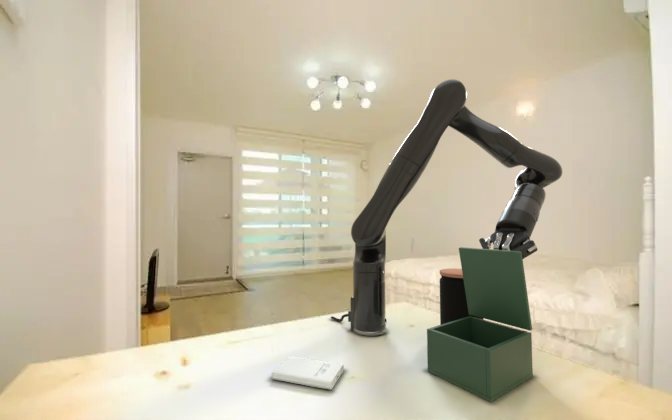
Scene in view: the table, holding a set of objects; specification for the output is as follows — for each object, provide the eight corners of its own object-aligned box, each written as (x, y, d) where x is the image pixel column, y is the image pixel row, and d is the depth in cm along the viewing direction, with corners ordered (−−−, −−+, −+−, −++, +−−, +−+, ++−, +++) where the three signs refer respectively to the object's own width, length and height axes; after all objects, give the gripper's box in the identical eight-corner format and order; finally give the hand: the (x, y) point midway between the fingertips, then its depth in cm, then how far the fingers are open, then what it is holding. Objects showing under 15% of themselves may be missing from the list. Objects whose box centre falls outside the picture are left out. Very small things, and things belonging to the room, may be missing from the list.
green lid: (519, 252, 61) (521, 251, 62) (458, 247, 72) (460, 247, 73) (530, 331, 63) (532, 329, 63) (468, 314, 74) (470, 313, 74)
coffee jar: (475, 333, 87) (474, 268, 88) (490, 348, 76) (488, 274, 77) (436, 331, 88) (435, 268, 89) (446, 347, 77) (444, 274, 78)
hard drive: (290, 362, 69) (343, 370, 65) (271, 380, 61) (330, 391, 57) (290, 355, 69) (343, 363, 65) (271, 371, 61) (330, 382, 57)
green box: (491, 402, 54) (490, 350, 54) (427, 371, 65) (426, 328, 65) (532, 376, 62) (531, 332, 63) (470, 353, 74) (469, 315, 74)
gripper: (486, 208, 79) (458, 259, 72) (543, 206, 69) (518, 266, 61) (497, 228, 82) (471, 280, 75) (554, 229, 71) (531, 290, 64)
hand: (492, 273), depth 68 cm, fingers closed
